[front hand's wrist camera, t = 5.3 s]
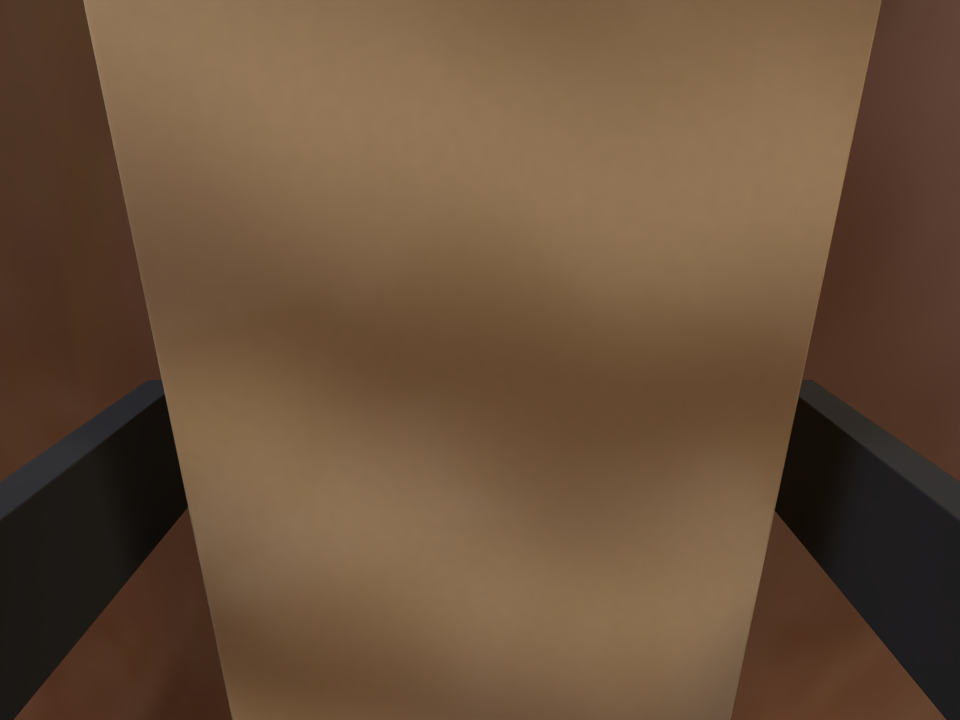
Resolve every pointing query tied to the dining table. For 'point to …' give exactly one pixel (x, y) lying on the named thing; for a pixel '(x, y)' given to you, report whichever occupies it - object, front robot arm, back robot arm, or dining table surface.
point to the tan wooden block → (482, 332)
